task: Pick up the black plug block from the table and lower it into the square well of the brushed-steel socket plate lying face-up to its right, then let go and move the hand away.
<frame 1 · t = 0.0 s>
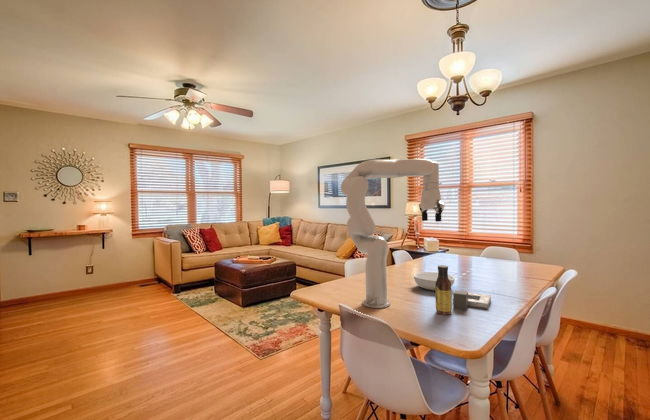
hand: (431, 221, 154), 37 cm above the table, tool pointing down, fingers open, 9 cm apart
serving bowl: (433, 289, 166), on the table
sauce bottle: (443, 313, 128), on the table
plug: (460, 308, 134), on the table
socket plate: (472, 302, 141), on the table
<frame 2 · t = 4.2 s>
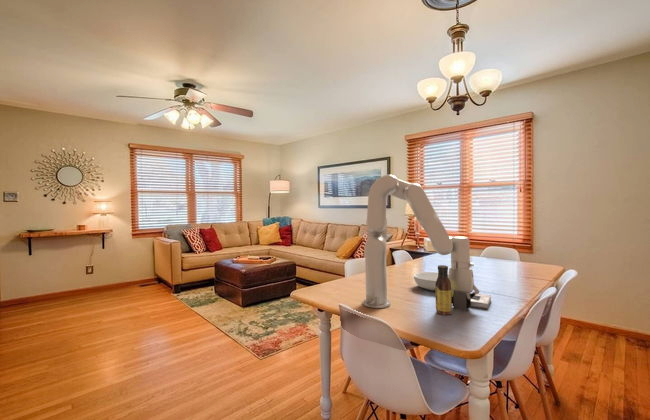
hand: (460, 306, 134), 1 cm above the table, tool pointing down, fingers closed on plug, 5 cm apart
plug: (460, 308, 134), on the table, touching gripper
everything else where it was.
when the fingers open (3 cm above the table, at t = 8.2 s): plug drops 1 cm, resting on socket plate.
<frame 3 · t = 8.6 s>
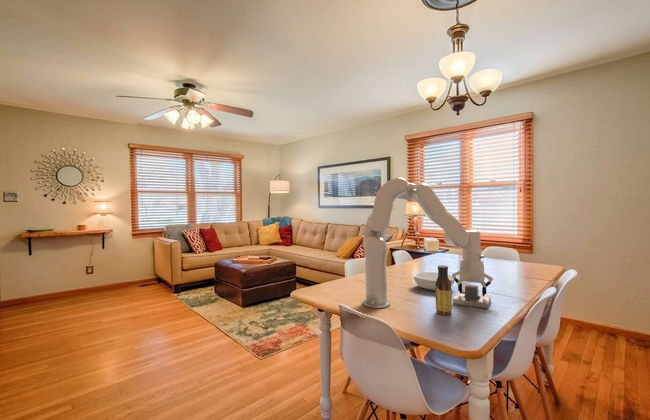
hand: (472, 294, 141), 4 cm above the table, tool pointing down, fingers open, 9 cm apart
plug: (471, 301, 141), resting on socket plate
everything else where it was.
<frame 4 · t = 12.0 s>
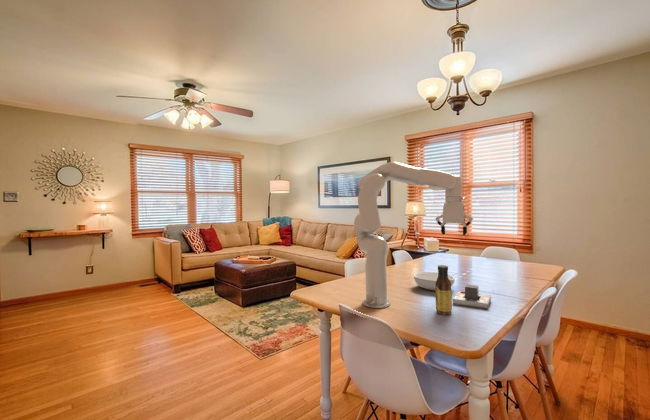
hand: (453, 234, 153), 30 cm above the table, tool pointing down, fingers open, 9 cm apart
nothing on the table moved.
at the end: plug 0.1 cm off-centre on the socket plate, point 0.5 cm above the socket plate's base; plug tilted 0°; the gripper is holding nothing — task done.
